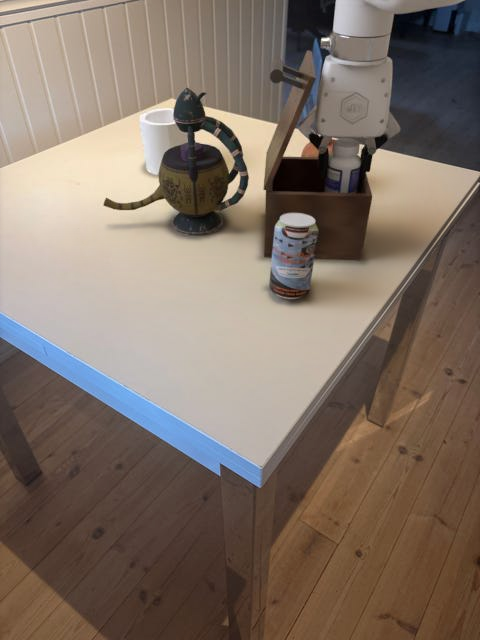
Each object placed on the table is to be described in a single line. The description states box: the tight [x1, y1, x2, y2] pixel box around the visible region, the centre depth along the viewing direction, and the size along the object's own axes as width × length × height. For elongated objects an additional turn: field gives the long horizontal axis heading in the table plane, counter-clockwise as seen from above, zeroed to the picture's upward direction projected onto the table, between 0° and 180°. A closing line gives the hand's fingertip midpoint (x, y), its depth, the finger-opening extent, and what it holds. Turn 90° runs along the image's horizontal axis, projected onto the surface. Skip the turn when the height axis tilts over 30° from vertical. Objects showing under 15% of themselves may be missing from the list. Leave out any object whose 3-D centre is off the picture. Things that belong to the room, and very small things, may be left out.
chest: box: [263, 156, 373, 261], centre depth 81 cm, size 16×14×11 cm
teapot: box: [103, 87, 250, 237], centre depth 81 cm, size 12×25×23 cm, turn 95°
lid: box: [262, 50, 317, 192], centre depth 72 cm, size 17×14×5 cm
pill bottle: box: [324, 137, 361, 193], centre depth 77 cm, size 5×5×9 cm
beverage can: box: [268, 213, 318, 300], centre depth 70 cm, size 6×7×12 cm
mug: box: [138, 107, 188, 176], centre depth 106 cm, size 14×10×11 cm
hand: (342, 174), depth 77 cm, fingers closed on pill bottle, 5 cm apart
